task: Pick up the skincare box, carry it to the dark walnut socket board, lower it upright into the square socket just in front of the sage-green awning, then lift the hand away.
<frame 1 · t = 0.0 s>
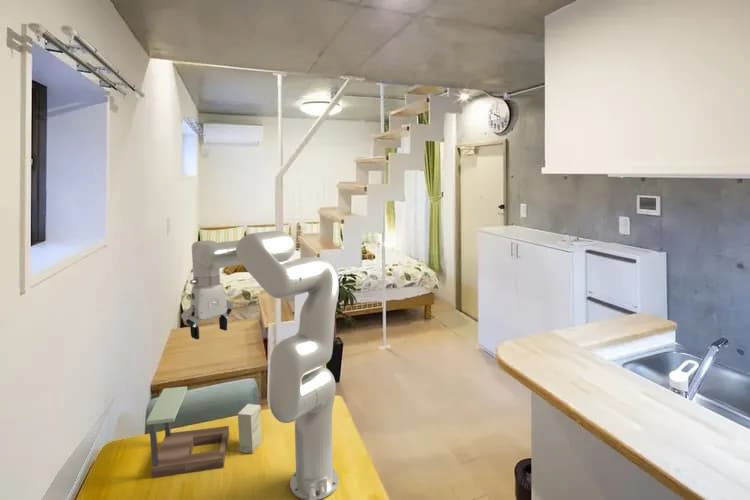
hand: (209, 333, 131), 31 cm above the table, tool pointing down, fingers open, 9 cm apart
socket board: (193, 454, 121), on the table
skincare box: (251, 447, 125), on the table
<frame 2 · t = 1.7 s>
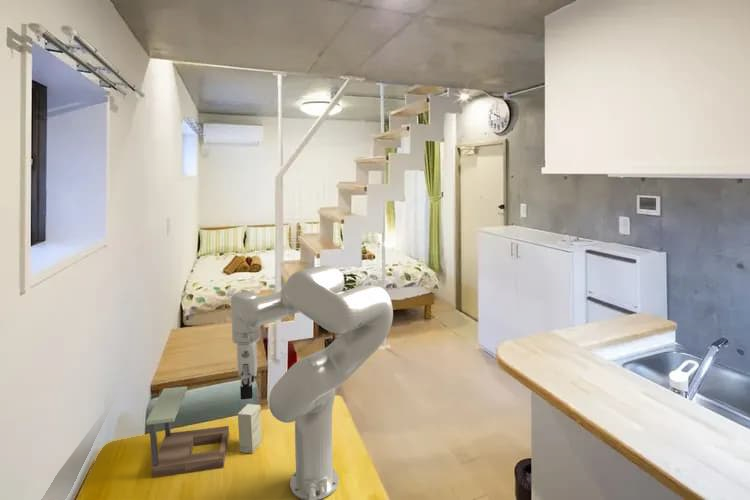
hand: (247, 390, 122), 18 cm above the table, tool pointing down, fingers open, 9 cm apart
nothing on the table moved.
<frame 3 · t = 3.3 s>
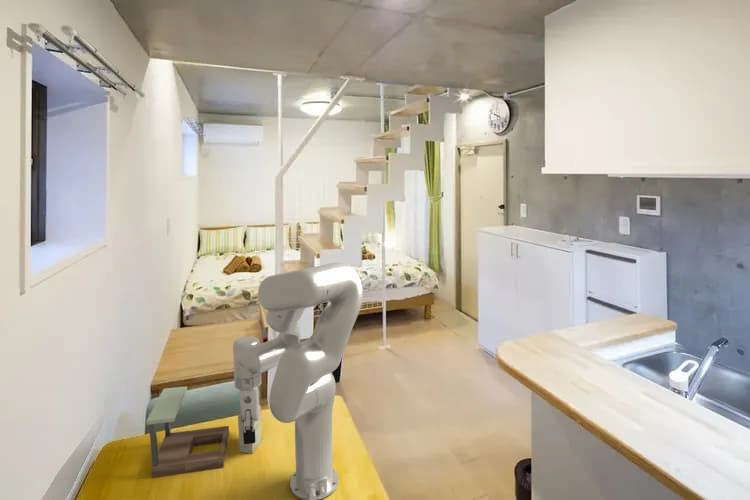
hand: (250, 434, 124), 4 cm above the table, tool pointing down, fingers closed on skincare box, 7 cm apart
skincare box: (250, 447, 125), on the table, touching gripper
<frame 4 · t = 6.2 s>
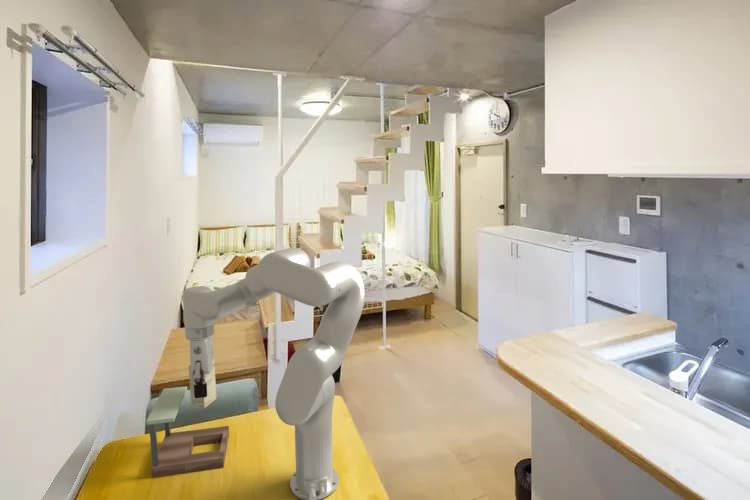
hand: (203, 389, 119), 20 cm above the table, tool pointing down, fingers closed on skincare box, 7 cm apart
skincare box: (204, 403, 119), point 16 cm above the table, touching gripper
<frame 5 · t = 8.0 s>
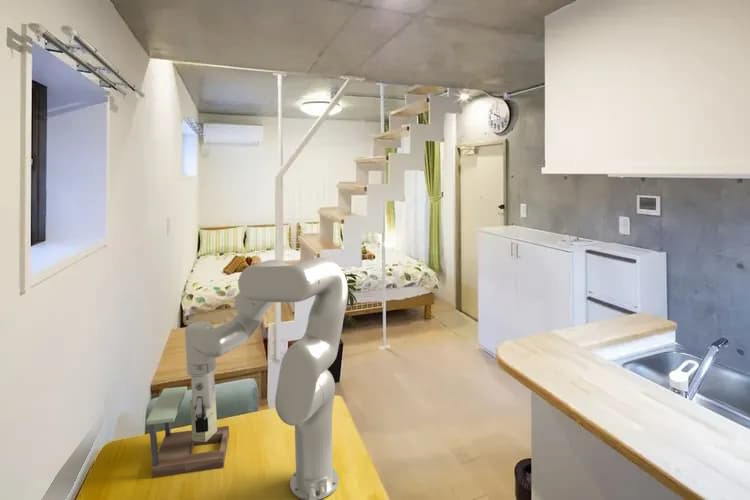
hand: (204, 423, 120), 9 cm above the table, tool pointing down, fingers closed on skincare box, 7 cm apart
skincare box: (205, 436, 121), point 5 cm above the table, touching gripper
when the fingers open (5 cm above the table, at t = 9.4 s): skincare box drops 1 cm, resting in socket board.
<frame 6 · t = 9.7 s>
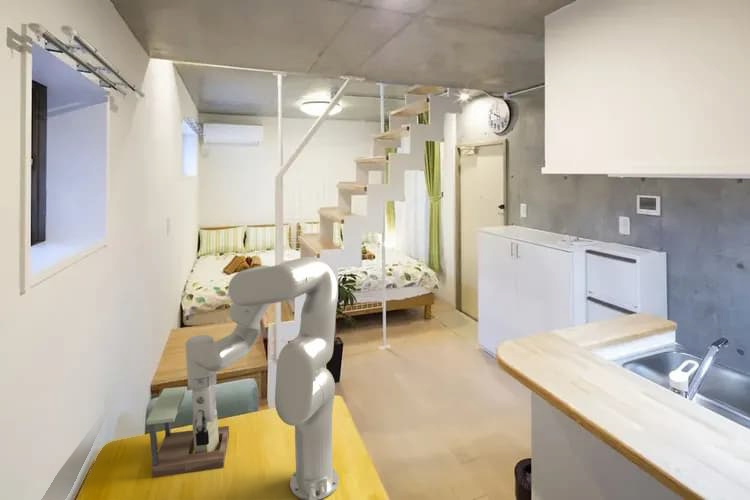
hand: (205, 434, 121), 6 cm above the table, tool pointing down, fingers open, 9 cm apart
skincare box: (207, 452, 122), resting in socket board
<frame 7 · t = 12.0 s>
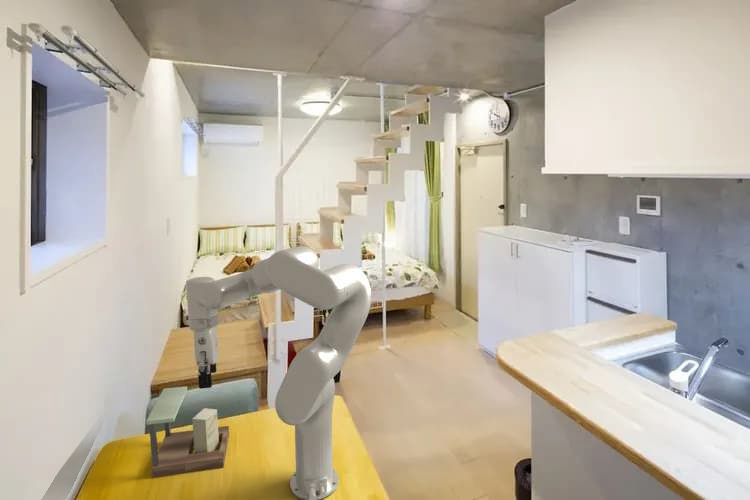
hand: (208, 379, 118), 23 cm above the table, tool pointing down, fingers open, 9 cm apart
nothing on the table moved.
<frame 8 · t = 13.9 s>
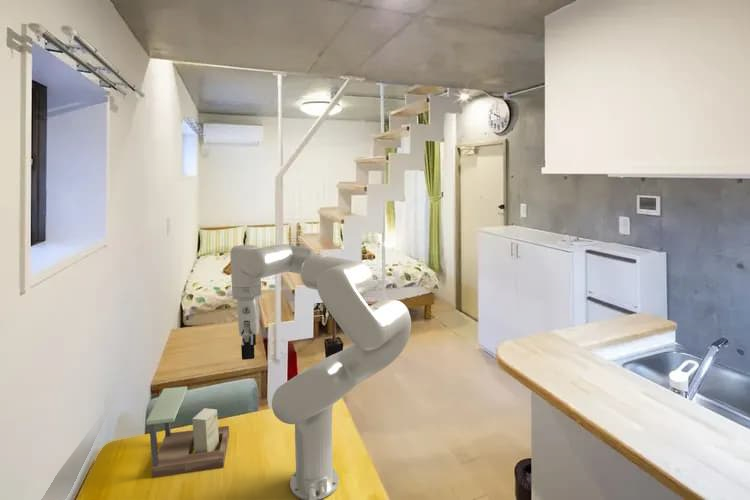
hand: (249, 351, 114), 32 cm above the table, tool pointing down, fingers open, 9 cm apart
nothing on the table moved.
at the end: skincare box 0.3 cm from the target spot on the socket board, point 0.0 cm above the socket board's base; skincare box tilted 0°; the gripper is holding nothing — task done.
